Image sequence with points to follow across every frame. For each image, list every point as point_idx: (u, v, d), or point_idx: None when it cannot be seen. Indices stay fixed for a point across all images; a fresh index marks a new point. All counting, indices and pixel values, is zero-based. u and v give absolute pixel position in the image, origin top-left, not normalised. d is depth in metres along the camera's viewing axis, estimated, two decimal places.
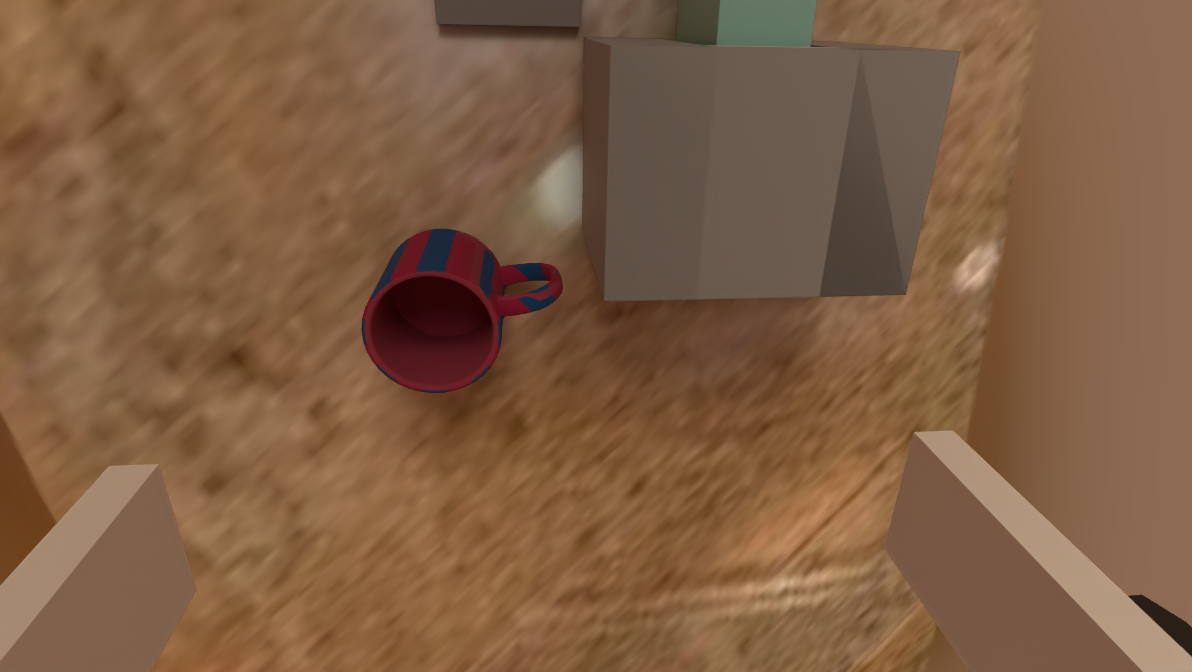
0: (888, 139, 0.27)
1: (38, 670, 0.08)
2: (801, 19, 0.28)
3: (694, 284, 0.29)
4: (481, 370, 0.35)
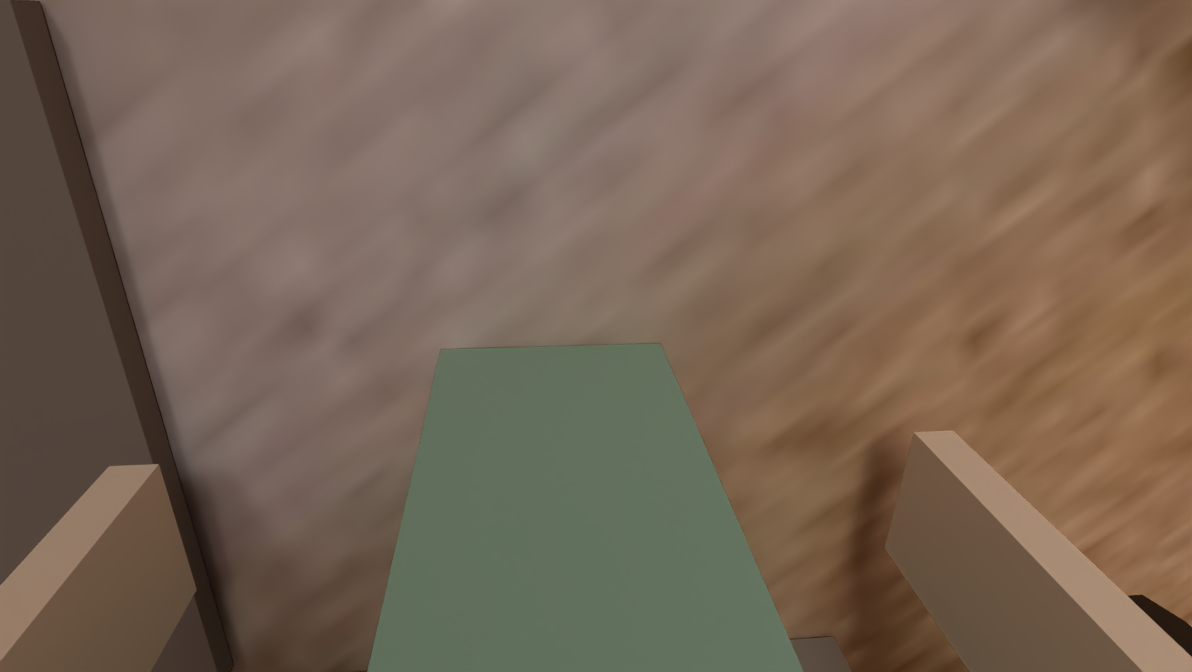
0: None
1: (37, 669, 0.08)
2: None
3: None
4: None
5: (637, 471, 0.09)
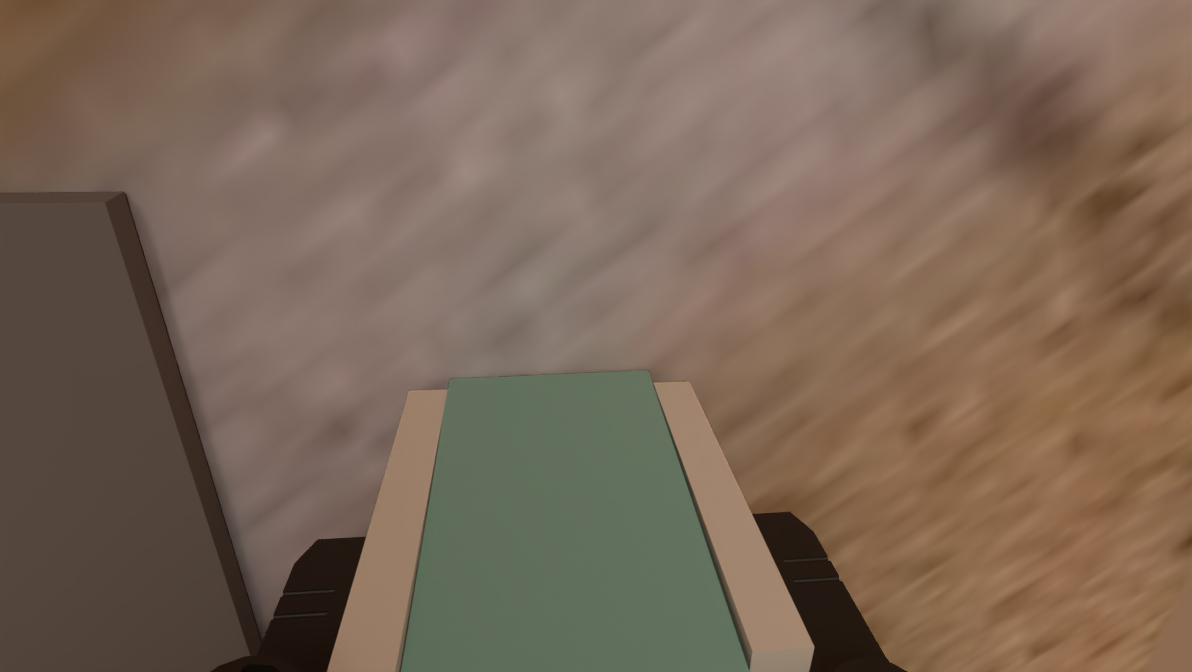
0: None
1: None
2: None
3: None
4: None
5: (623, 500, 0.10)
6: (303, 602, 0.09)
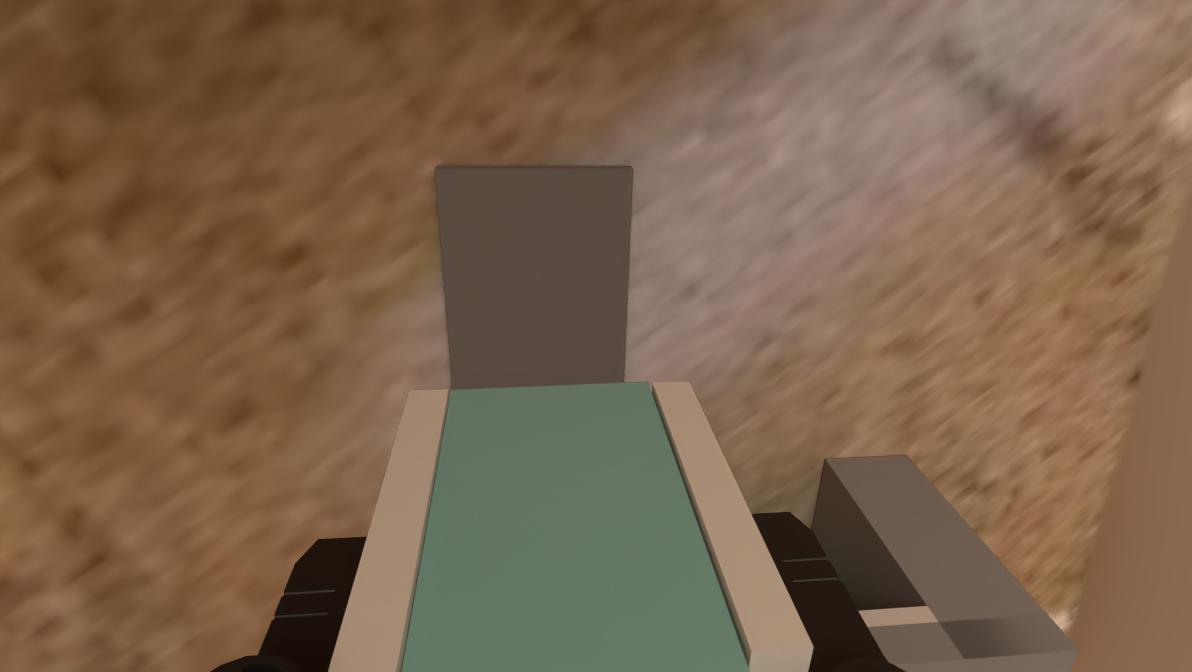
0: None
1: None
2: None
3: None
4: None
5: (623, 506, 0.11)
6: (304, 602, 0.09)
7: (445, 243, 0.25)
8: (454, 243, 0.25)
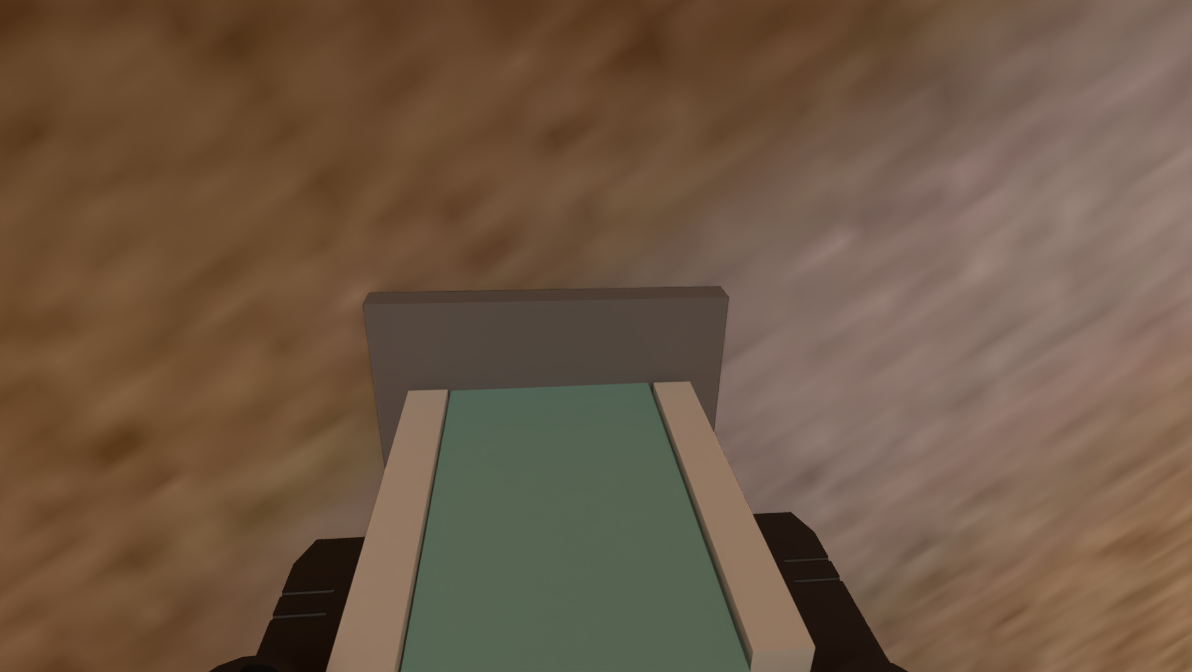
0: None
1: None
2: None
3: None
4: None
5: (623, 507, 0.10)
6: (302, 602, 0.09)
7: (387, 426, 0.14)
8: None
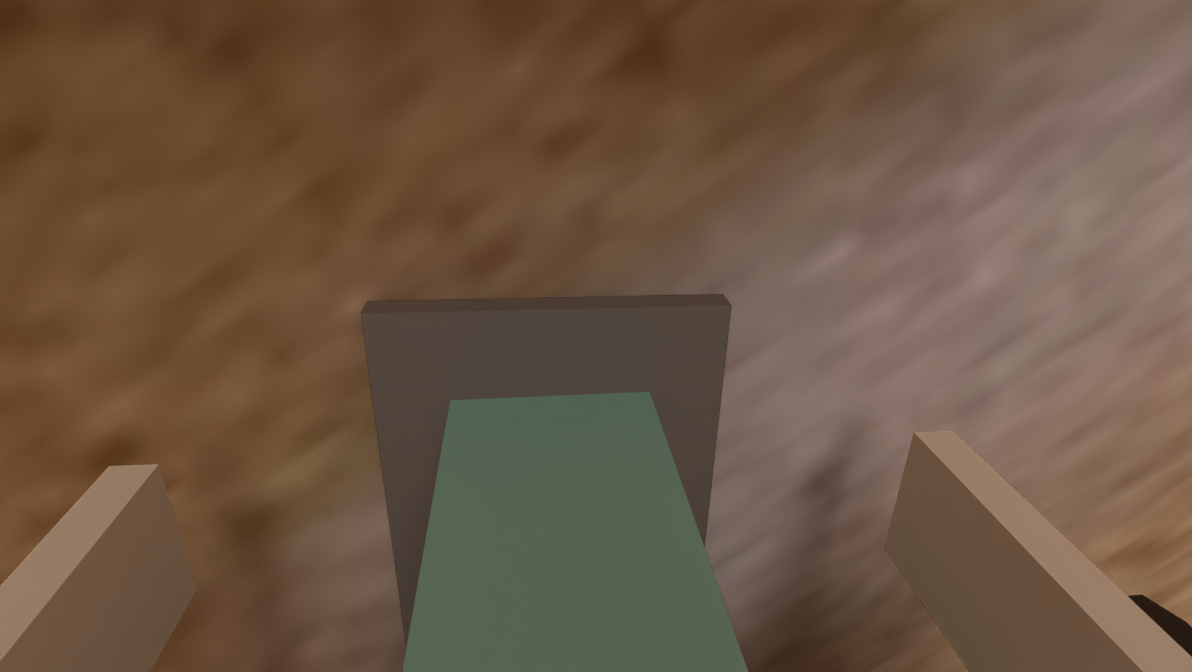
0: None
1: (38, 670, 0.08)
2: None
3: None
4: None
5: (625, 520, 0.10)
6: None
7: (386, 436, 0.14)
8: (402, 436, 0.14)
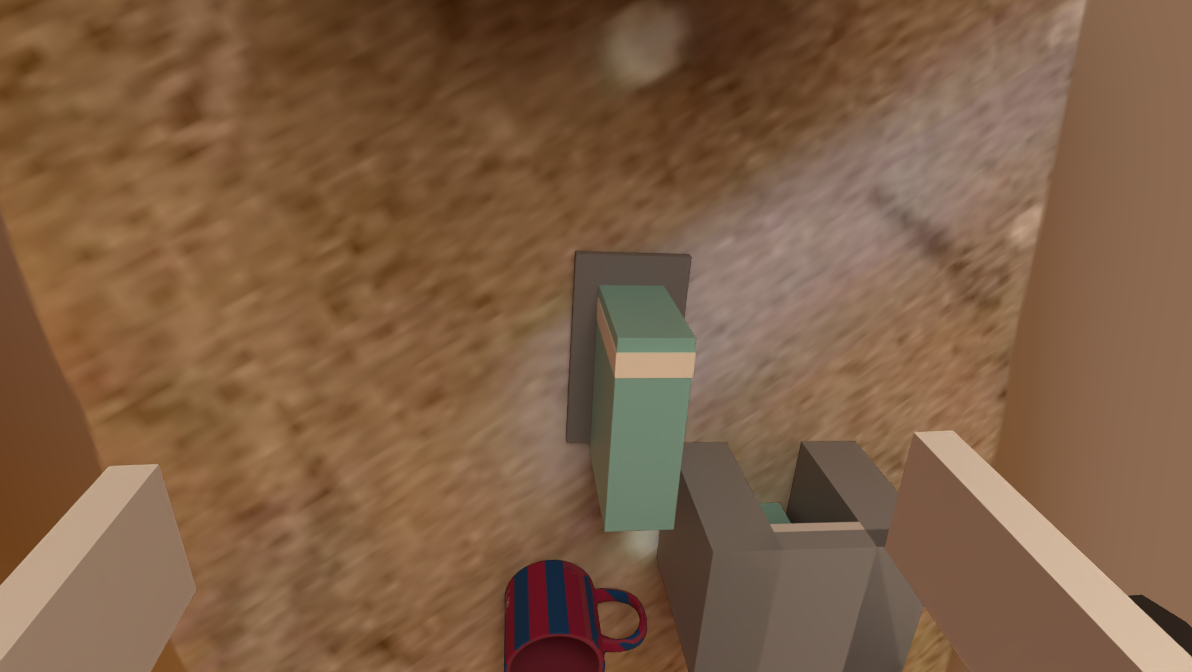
0: (893, 590, 0.40)
1: (37, 670, 0.08)
2: (672, 455, 0.37)
3: None
4: None
5: (659, 308, 0.38)
6: None
7: (576, 296, 0.41)
8: (582, 297, 0.41)
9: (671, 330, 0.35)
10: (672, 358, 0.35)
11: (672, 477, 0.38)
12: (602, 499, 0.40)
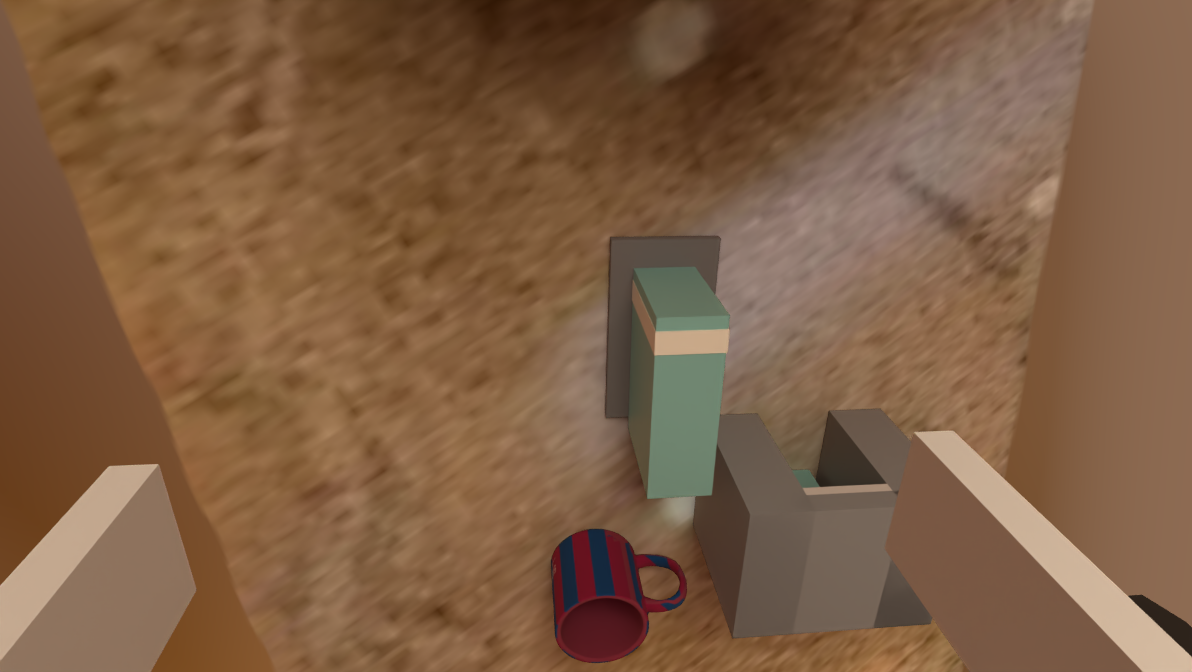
0: None
1: (37, 670, 0.08)
2: (709, 426, 0.40)
3: (791, 626, 0.44)
4: (632, 648, 0.49)
5: (692, 288, 0.40)
6: None
7: (612, 280, 0.44)
8: (617, 280, 0.44)
9: (705, 308, 0.38)
10: (707, 335, 0.37)
11: (709, 446, 0.40)
12: (644, 469, 0.42)
